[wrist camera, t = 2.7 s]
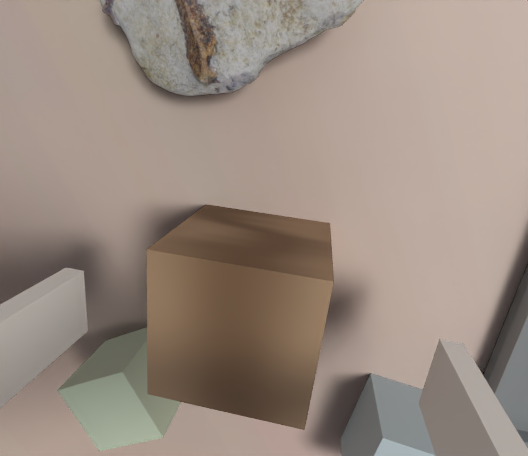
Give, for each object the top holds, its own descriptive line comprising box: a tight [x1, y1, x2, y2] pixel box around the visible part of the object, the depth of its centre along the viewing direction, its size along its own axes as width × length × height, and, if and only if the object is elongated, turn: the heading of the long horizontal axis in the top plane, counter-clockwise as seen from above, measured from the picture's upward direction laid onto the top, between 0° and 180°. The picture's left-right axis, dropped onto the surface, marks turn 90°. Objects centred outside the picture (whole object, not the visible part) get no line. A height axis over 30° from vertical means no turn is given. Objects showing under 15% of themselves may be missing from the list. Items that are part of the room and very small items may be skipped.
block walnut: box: [147, 205, 334, 430], centre depth 14 cm, size 6×6×6 cm
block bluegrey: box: [341, 373, 436, 456], centre depth 17 cm, size 5×5×4 cm
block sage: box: [57, 327, 181, 451], centre depth 18 cm, size 4×4×4 cm
